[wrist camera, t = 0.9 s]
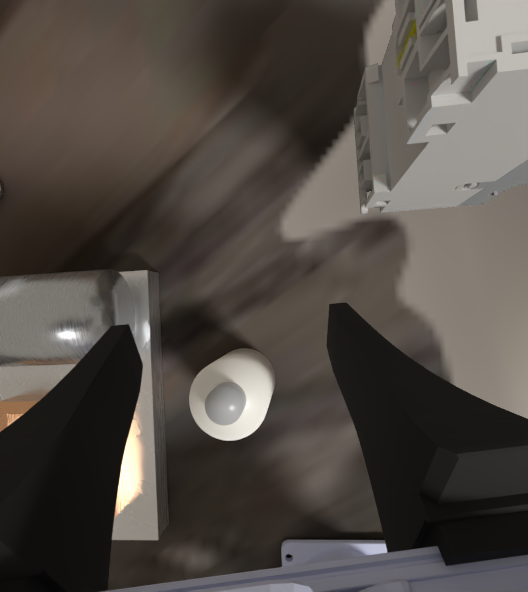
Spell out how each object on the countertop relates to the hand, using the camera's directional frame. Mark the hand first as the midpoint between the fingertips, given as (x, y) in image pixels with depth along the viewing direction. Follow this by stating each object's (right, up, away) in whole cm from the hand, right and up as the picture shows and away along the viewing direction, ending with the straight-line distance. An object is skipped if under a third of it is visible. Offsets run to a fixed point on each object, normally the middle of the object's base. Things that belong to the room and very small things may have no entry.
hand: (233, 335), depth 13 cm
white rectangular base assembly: (-12, -6, +14) cm, 19 cm away
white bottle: (0, -5, +13) cm, 13 cm away
